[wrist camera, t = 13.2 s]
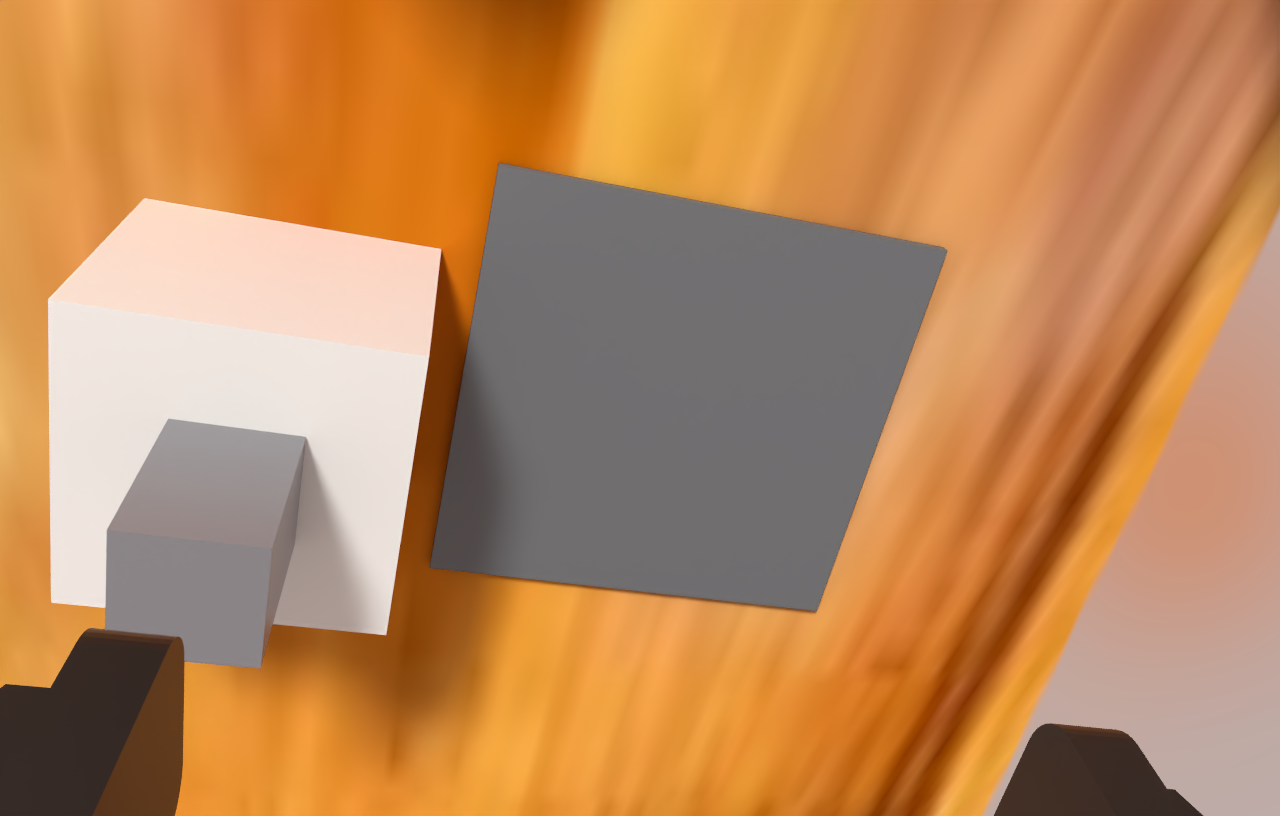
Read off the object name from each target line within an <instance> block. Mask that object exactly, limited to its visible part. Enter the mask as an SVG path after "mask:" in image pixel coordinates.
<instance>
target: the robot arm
mask: <svg viewBox="0 0 1280 816" xmlns="http://www.w3.org/2000/svg"><path fill="white" fill-rule="evenodd" d="M183 714H184V644H183V640H182V639H181V637H178V636H168V635H158V634H147V633H137V632H127V631H116V630H106V629H96V628H90V629H87V630H86V631H85V632H84V633H83V634H82V635H81V636H80V638H79V639H78V641H77V643H76V644H75V646H74V648H73V650H72V651H71V653H70V655H69V657H68V658H67V660H66V662H65V664H64V665H63V667H62V669H61V670H60V672H59V674H58V676H57V677H56V679H55V681H54V683H53V684H52V686H51V688H43V687H32V686H21V685H9V684H5V685H4V686H3V687H1V688H0V816H175V812H176V808H177V803H178V798H179V792H180V786H181V778H182V766H183ZM994 816H1203V815H1202V814H1201V813H1199V811H1197V810H1196V809H1195V808H1194V807H1193V806H1192V805H1191V804H1190V803H1189V802H1188V801H1186V800H1185V799H1184V798H1183V797H1182V796H1181V795H1180V794H1179V793H1178V792H1177V791H1176V790H1173V789H1166V787H1165V786H1164V784H1163V782H1162V781H1161V779H1160V778H1159V776H1158V775H1157V773H1156V772H1155V770H1154V769H1153V767H1152V766H1151V764H1150V763H1149V761H1148V760H1147V758H1146V757H1145V755H1144V754H1143V752H1142V751H1141V750H1140V748H1139V746H1138V745H1137V744H1136V742H1135V741H1134V740H1133V739H1132V738H1131V737H1130V736H1129V735H1128V734H1126V733H1124V732H1122V731H1119V730H1112V729H1102V728H1091V727H1081V726H1071V725H1061V724H1044V725H1042V726H1040V727H1039V728H1038V729H1036V731H1035V732H1034V733H1033V734H1032V737H1031V738H1030V740H1029V742H1028V744H1027V746H1026V748H1025V751H1024V752H1023V755H1022V757H1021V759H1020V761H1019V763H1018V765H1017V768H1016V769H1015V772H1014V774H1013V776H1012V778H1011V780H1010V782H1009V784H1008V786H1007V789H1006V791H1005V793H1004V795H1003V797H1002V799H1001V802H1000V803H999V806H998V808H997V810H996V812H995V814H994Z"/></svg>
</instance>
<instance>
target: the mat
mask: <svg viewBox="0 0 1280 816" xmlns="http://www.w3.org/2000/svg"><path fill="white" fill-rule="evenodd" d="M946 253H947V250H946V249H945V248H944V247H938V246H933V245H928V244H923V243H917V242H912V241H907V240H902V239H896V238H891V237H886V236H881V235H875V234H870V233H865V232H860V231H854V230H849V229H844V228H839V227H833V226H828V225H823V224H818V223H812V222H807V221H802V220H797V219H791V218H786V217H781V216H776V215H770V214H765V213H760V212H755V211H749V210H744V209H739V208H734V207H728V206H723V205H718V204H713V203H707V202H702V201H697V200H692V199H686V198H681V197H676V196H671V195H665V194H660V193H655V192H650V191H644V190H639V189H634V188H629V187H623V186H618V185H613V184H608V183H603V182H597V181H592V180H587V179H582V178H576V177H571V176H566V175H561V174H555V173H550V172H545V171H540V170H534V169H529V168H524V167H519V166H513V165H508V164H503V163H499V164H498V170H497V176H496V182H495V188H494V194H493V199H492V205H491V211H490V217H489V223H488V229H487V235H486V240H485V246H484V252H483V258H482V264H481V270H480V276H479V281H478V287H477V293H476V299H475V305H474V311H473V316H472V322H471V328H470V334H469V340H468V346H467V352H466V357H465V363H464V369H463V375H462V381H461V387H460V392H459V398H458V404H457V410H456V416H455V422H454V428H453V433H452V439H451V445H450V451H449V457H448V463H447V468H446V474H445V480H444V486H443V492H442V498H441V504H440V509H439V515H438V521H437V527H436V533H435V539H434V545H433V550H432V556H431V562H430V568H435V569H444V570H453V571H462V572H471V573H480V574H489V575H498V576H507V577H516V578H525V579H534V580H543V581H552V582H561V583H570V584H579V585H588V586H597V587H606V588H615V589H624V590H633V591H642V592H651V593H660V594H669V595H678V596H687V597H696V598H705V599H714V600H722V601H731V602H740V603H749V604H758V605H767V606H776V607H785V608H794V609H803V610H812V611H817V609H818V606H819V603H820V600H821V598H822V595H823V592H824V589H825V586H826V584H827V581H828V578H829V575H830V573H831V570H832V567H833V564H834V562H835V559H836V556H837V553H838V551H839V548H840V545H841V542H842V540H843V537H844V534H845V531H846V529H847V526H848V523H849V520H850V518H851V515H852V512H853V509H854V507H855V504H856V501H857V498H858V496H859V493H860V490H861V487H862V485H863V482H864V479H865V476H866V474H867V471H868V468H869V465H870V463H871V460H872V457H873V454H874V452H875V449H876V446H877V443H878V441H879V438H880V435H881V432H882V430H883V427H884V424H885V421H886V419H887V416H888V413H889V410H890V407H891V405H892V402H893V399H894V396H895V394H896V391H897V388H898V385H899V383H900V380H901V377H902V374H903V372H904V369H905V366H906V363H907V361H908V358H909V355H910V352H911V350H912V347H913V344H914V341H915V339H916V336H917V333H918V330H919V328H920V325H921V322H922V319H923V317H924V314H925V311H926V308H927V306H928V303H929V300H930V297H931V295H932V292H933V289H934V286H935V284H936V281H937V278H938V275H939V273H940V270H941V267H942V264H943V262H944V259H945V256H946Z"/></svg>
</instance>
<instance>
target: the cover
mask: <svg viewBox="0 0 1280 816" xmlns="http://www.w3.org/2000/svg"><path fill="white" fill-rule="evenodd" d="M440 257H441V249H438V248H432V247H426V246H421V245H415V244H409V243H403V242H397V241H391V240H386V239H380V238H374V237H368V236H362V235H356V234H351V233H345V232H339V231H333V230H327V229H322V228H316V227H310V226H304V225H298V224H292V223H287V222H281V221H275V220H269V219H263V218H257V217H252V216H246V215H240V214H234V213H228V212H222V211H217V210H211V209H205V208H199V207H193V206H187V205H182V204H176V203H170V202H164V201H158V200H152V199H147V198H144V199H143V200H142V201H141V203H140V204H139V205H138V206H137V207H136V208H135V209H134V210H133V211H132V212H131V213H130V214H129V215H128V216H127V217H126V218H125V219H124V220H123V221H122V222H121V223H120V224H119V226H118V227H117V228H116V229H115V230H114V231H113V232H112V233H111V234H110V235H109V236H108V237H107V238H106V239H105V240H104V241H103V242H102V243H101V244H100V245H99V246H98V248H97V249H96V250H95V251H94V252H93V253H92V254H91V255H90V256H89V257H88V258H87V259H86V260H85V261H84V262H83V263H82V264H81V265H80V266H79V267H78V268H77V269H76V271H75V272H74V273H73V274H72V275H71V276H70V277H69V278H68V279H67V280H66V281H65V282H64V283H63V284H62V285H61V286H60V287H59V288H58V289H57V290H56V291H55V292H54V294H53V295H52V296H51V297H50V298H49V299H48V342H49V437H50V532H51V603H61V604H71V605H82V606H92V607H102V608H105V629H106V630H116V631H127V632H137V633H147V634H158V635H168V636H178V637H181V639H182V640H183V644H184V662H194V663H205V664H216V665H228V666H239V667H250V668H261V666H262V662H263V658H264V655H265V651H266V647H267V644H268V640H269V636H270V633H271V629H272V626H273V624H277V625H287V626H297V627H308V628H318V629H328V630H339V631H349V632H359V633H369V634H380V635H386V633H387V627H388V620H389V614H390V607H391V601H392V595H393V588H394V582H395V575H396V569H397V562H398V556H399V549H400V543H401V536H402V530H403V523H404V517H405V510H406V504H407V497H408V491H409V484H410V478H411V472H412V465H413V459H414V452H415V446H416V439H417V433H418V426H419V420H420V413H421V407H422V400H423V394H424V387H425V381H426V374H427V368H428V361H429V354H430V346H431V337H432V328H433V319H434V310H435V301H436V293H437V284H438V275H439V266H440Z"/></svg>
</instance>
